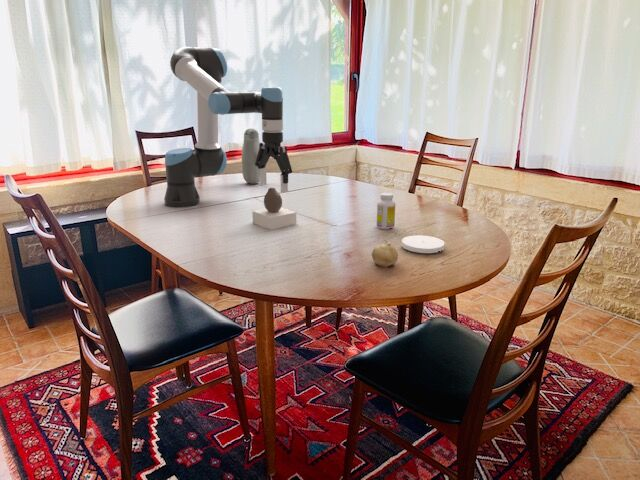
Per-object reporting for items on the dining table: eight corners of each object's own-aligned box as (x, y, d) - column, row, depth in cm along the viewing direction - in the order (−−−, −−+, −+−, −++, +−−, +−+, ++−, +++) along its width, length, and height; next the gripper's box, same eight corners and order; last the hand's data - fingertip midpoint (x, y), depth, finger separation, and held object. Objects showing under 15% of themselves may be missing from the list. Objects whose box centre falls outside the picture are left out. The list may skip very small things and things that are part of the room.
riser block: (252, 223, 195) (252, 211, 194) (277, 218, 203) (277, 206, 201) (270, 230, 187) (270, 217, 185) (296, 224, 194) (296, 212, 193)
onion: (400, 269, 150) (401, 246, 148) (373, 269, 150) (374, 247, 148) (394, 259, 158) (395, 238, 156) (369, 260, 157) (370, 238, 155)
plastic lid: (414, 239, 178) (414, 232, 177) (451, 248, 170) (451, 241, 169) (393, 249, 168) (393, 242, 167) (431, 259, 159) (432, 251, 158)
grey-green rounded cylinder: (239, 183, 263) (237, 128, 254) (255, 180, 270) (253, 127, 261) (250, 186, 256) (248, 130, 248) (266, 183, 263) (265, 128, 254)
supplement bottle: (395, 225, 192) (397, 193, 188) (392, 230, 186) (394, 196, 182) (378, 224, 195) (380, 191, 190) (374, 228, 189) (376, 195, 185)
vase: (279, 213, 189) (277, 190, 187) (262, 213, 191) (260, 190, 188) (285, 208, 196) (282, 186, 193) (268, 208, 197) (265, 186, 195)
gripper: (244, 128, 190) (246, 183, 197) (284, 135, 172) (285, 196, 179) (261, 127, 195) (262, 181, 202) (302, 134, 177) (301, 193, 184)
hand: (273, 188), depth 191 cm, fingers open, 13 cm apart
